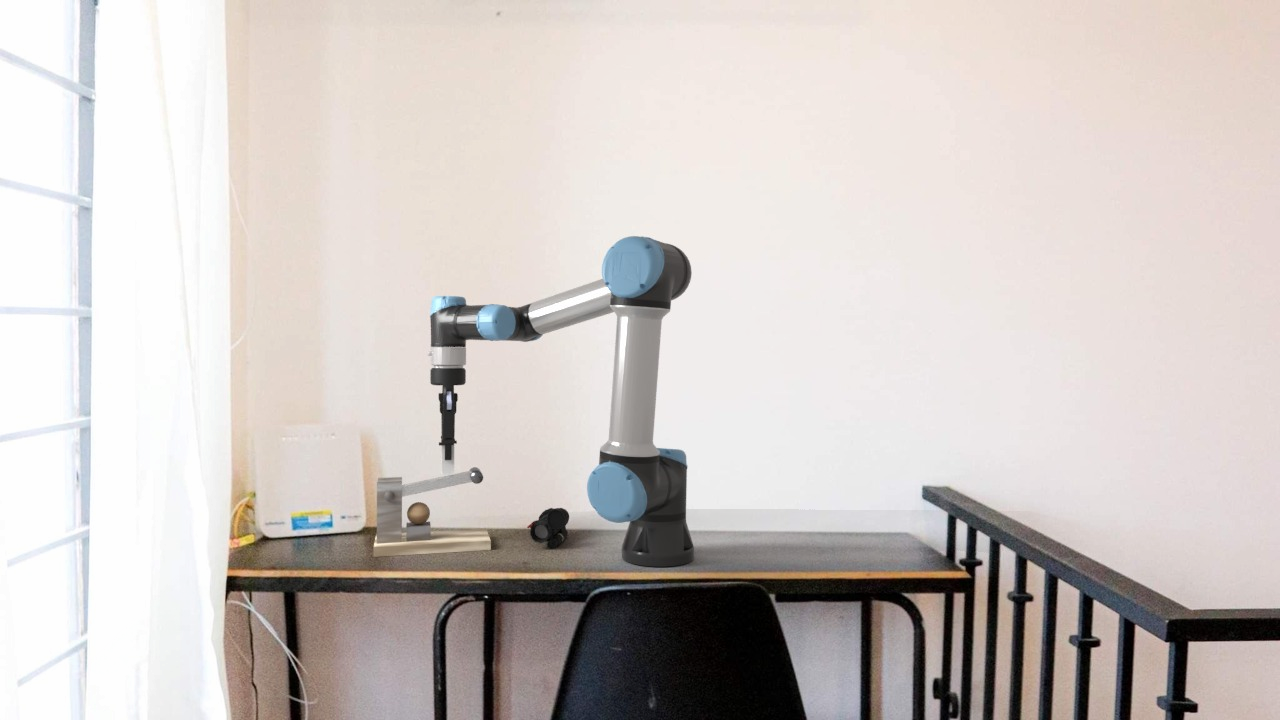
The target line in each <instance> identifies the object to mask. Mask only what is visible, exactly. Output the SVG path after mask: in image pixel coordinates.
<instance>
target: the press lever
mask: <svg viewBox="0 0 1280 720" xmlns="http://www.w3.org/2000/svg"><path fill="white" fill-rule="evenodd" d="M483 481H484V475H483V473H482V471H481V470H480V468H478V467H470V469H469V470H468V471H463V472H458V473H454V475H442V476H439V477H434V478H429V479H423V480H420V481H415V482H410V483H405V484H402V498H403V497H407V496H411V495H417V494H422V493H426V492H430V491H431V492H432V491H436V490H439V489H444V488H448V487H449V488H450V487H455V486H458V485H463V484H468V483H473V484H475V485H477V484H478V485H479V484H481V483H482V482H483Z"/></svg>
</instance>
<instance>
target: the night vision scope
mask: <svg viewBox="0 0 1280 720" xmlns="http://www.w3.org/2000/svg"><path fill="white" fill-rule="evenodd" d="M569 519H570V514H569V511H567V509H565V508H563V507H557V508H553V507H550V508H548V509H544V511H542V512H541V514H540V515H539V516H538V519H536V520H534V521H532V522H531V523H530V524H528V525H527V527H526V528H527V529H529V535H530V538H531V539H532V540H533V541H534V542H535V543H538V544H543V543H545V542H547V547H548V548H550V550H551V549H556V547H558V546H559V545H560V544H561V543H562V542H564V541H565V539H566V540H567V537H568V533H569V532H568V530H567V529H566V525H568V524H569V521H570V520H569Z"/></svg>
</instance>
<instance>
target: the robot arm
mask: <svg viewBox="0 0 1280 720" xmlns="http://www.w3.org/2000/svg"><path fill="white" fill-rule="evenodd" d="M601 276H602V278H600V279H598V280H595V281H592V282H589V283H587V284H586V283H585V284H583V285H580V286H577V287H574V288H572V289H568V290H566V291H562V292H559V293H555V294H553V295H551V296H548V297H545V298H542V299H539V300H536V301H533V302H531V303H528V304H525V305H521V306H518V307H517V306H516V307H515V306H514V307H513V306H507V305H504V304H493V303H490V304H478V305H477V304H476V305H474V304H473V305H469V304H468V305H467V300H466V298H465V297H463V296H458V295H457V296H456V295H454V296H452V295H448V296H447V295H436V296H434V297H433V298H432V299H431V303H430V305H431V306H430V314H429V318H430V350H431V351H428V352H427V356H428V357H430V365H431V366H433V367H432V368H431V369H430V377H429V379H430V381H429V382H430V384H431V385H432V386H441V388H442V389H441V390H442V391H441V392H438V402H439V412H440V414H441V419H440V421H441V435H440V439H441V441H440V442H438V446H441V447H440V448H441V449H440V451H441V453H440V454H441V456H440V457H441V460H440V461H441V463H440V464H441V465H440V466H441V467H440V469H441V470H440V472H441V473H440V474H441V476H448V475H454V474H455V444H458V443H457V442H458V441H457V440H456V438H455V432H456V431H455V429H456V428H455V425H456V424H455V422H456V420H455V419H456V413H457V402H458V400H459V397H458V392H455V388H454V387H455V386H463V385H466V382H467V381H466V379H467V378H466V377H467V376H466V375H467V374H466V373H467V371H466V369H465V368H464V367H465V366H466V365H467V347H466V346H467V341H472V340H473V341H492V342H493V341H495V342H496V341H497V342H498V341H505V342H506V341H509V342H510V341H511V342H522V343H526V342H527V343H528V342H533V341H537V340H539V339H540V338H541V337H542V336H543V335H545V334H549V333H551V332H554V331H558V330H562V329H564V328H569V327H570V326H574V325H577V324H580V323H583V322H586V321H590V320H593V319H596V318H599V317H604V316H607V315H610V314H612V313H615V315H616V328H615V329H616V330H615V331H616V332H615V343H614V344H615V345H614V358H613V372H612V387H611V388H612V389H611V403H610V413H609V416H610V417H609V428H608V439H607V441H606V442H605V443H603V445H601V446H600V447H599V448H600V449H599V459H598V465H597V466H595V468H594V469H593V470H592V471H591V473H590V475H589V476H588V478H587V482H586V483H587V484H586V490H587V491H586V492H587V493H586V494H587V497H588V500H589V503H590V505H591V507H592V508H593V509H594V510H595V511H596V512H597V514H598V516H600V517H601V518H603V519H605V520H606V521H608V522H612V523H615V524H616V523H617V524H620V523H621V524H622V523H623V524H624V523H626V522H627V523H628V522H629V523H628V527H627V529H626V530H627V531H626V533H625V536H624V539H623V543H622V545H621V559H622V560H623V561H624V562H626V563H629V564H634V565H637V566H644V567H653V568H654V567H661V568H662V567H664V568H665V567H675V566H681V565H686V564H689V563H691V562H693V561H694V560H695V546H694V542H693V540H692V535H691V533H690V530H689V527H688V523H687V487H688V486H687V481H688V479H687V477H688V467H689V466H688V463H687V454H686V452H685V451H684V450H682V449H679V448H677V449H674V448H666V447H664V448H663V447H657V446H656V445H655V444H654V432H655V431H654V430H655V417H656V406H657V405H656V403H657V391H658V390H657V389H658V376H659V375H658V374H659V363H660V362H659V361H660V350H661V349H660V348H661V334H662V322H663V319H664V317H665V316H667V315H668V314H669V313H670V312H671V308H672V307H671V306H672V301H674V300H676V299H678V298H679V297H681V296H682V295H683V294H684V293H685V292H686V290H687V289H688V287H689V285H690V283H691V281H692V265H691V262H690V260H689V257H688V256H687V255H686V254H685V252H684V251H683V250H681V249H680V248H679V247H677V246H676V245H673V244H671V243H666V242H663V241H659V240H656V239H653V238H651V237H647V236H637V235H631V236H626V237H623V238H621V239H619V240H617V241H616V242H615V243H614V244H613V245H611V247H610V248H608V249H607V252H606V254H605V256H604V258H603V261H602V264H601Z"/></svg>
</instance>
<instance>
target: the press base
mask: <svg viewBox="0 0 1280 720" xmlns="http://www.w3.org/2000/svg"><path fill="white" fill-rule="evenodd" d="M402 485H403V477H402V476H392V477H378V478H377V481H376V534H375V538H374V543H373V553H372V554H373V558H378V557H394V556H395V557H396V556H413V555H425V554H427V555H428V554H443V553H447V554H448V553H460V552H478V551H491V550H492V548H491V547H492V540H491V538H490V535H489V533H488V530H487V528H473V529H470V528H469V529H454V530H452V529H451V530H434V531H432V529H431V528H432V526H431V525H432V524H431V521H428V520H429V519H430V515H431V510H430V508H429V506H428V505H427V504H426V503H424V502H421V501H420V502H419V501H418V502H413V503H412V504H411V505H410V506H409V507H408V508H407V512H406V516H407V519H408V521H409V522H406V525H405V526H406V527H405V528H406V529H405V530H406V531H405V532H402V530H403V524H402V523H403V497H402Z"/></svg>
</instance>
